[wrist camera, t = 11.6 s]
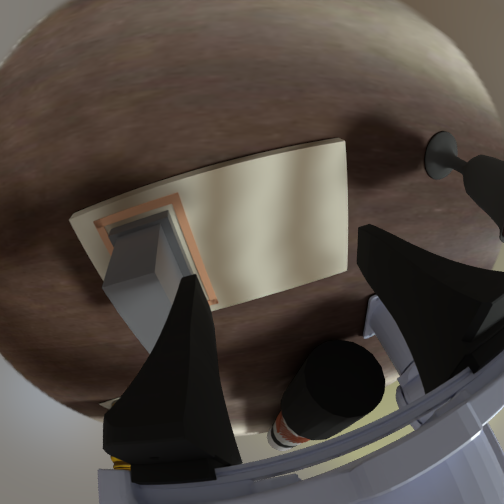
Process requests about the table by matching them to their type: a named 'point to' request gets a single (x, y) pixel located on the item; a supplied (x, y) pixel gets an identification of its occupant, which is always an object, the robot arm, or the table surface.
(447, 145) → the sundae
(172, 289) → the block
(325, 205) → the board
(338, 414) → the striped banded cylinder
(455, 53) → the table surface
